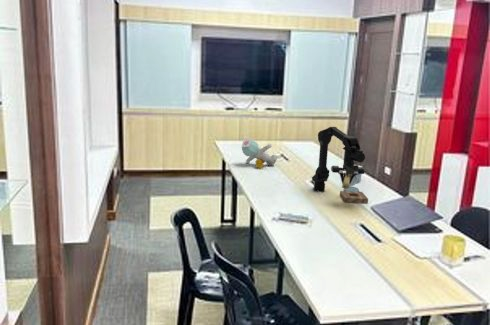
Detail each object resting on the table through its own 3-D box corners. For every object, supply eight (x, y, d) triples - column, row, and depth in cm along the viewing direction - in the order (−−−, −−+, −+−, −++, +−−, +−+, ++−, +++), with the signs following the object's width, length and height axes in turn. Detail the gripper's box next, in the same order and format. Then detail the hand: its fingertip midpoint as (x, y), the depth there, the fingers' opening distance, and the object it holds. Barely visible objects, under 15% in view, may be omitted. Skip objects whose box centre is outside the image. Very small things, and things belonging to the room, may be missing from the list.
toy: (287, 147, 341) (256, 128, 330) (283, 167, 331) (251, 147, 320) (262, 163, 365) (232, 145, 353) (258, 181, 354) (227, 164, 343)
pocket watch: (357, 172, 302) (363, 178, 288) (355, 187, 305) (361, 194, 290) (342, 171, 302) (348, 177, 287) (340, 187, 304) (346, 194, 290)
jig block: (344, 202, 273) (345, 198, 272) (339, 195, 286) (340, 190, 286) (367, 203, 273) (368, 198, 272) (361, 196, 287) (362, 191, 286)
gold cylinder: (342, 188, 268) (344, 174, 266) (341, 186, 272) (343, 172, 269) (349, 188, 268) (351, 174, 266) (348, 186, 272) (349, 172, 269)
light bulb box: (356, 183, 314) (358, 168, 311) (347, 181, 317) (348, 167, 314) (361, 180, 323) (362, 165, 320) (352, 178, 326) (353, 164, 323)
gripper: (335, 160, 257) (332, 186, 261) (368, 162, 258) (364, 188, 262) (332, 156, 268) (329, 181, 272) (363, 157, 268) (360, 182, 272)
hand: (346, 183), depth 269 cm, fingers closed on gold cylinder, 4 cm apart
